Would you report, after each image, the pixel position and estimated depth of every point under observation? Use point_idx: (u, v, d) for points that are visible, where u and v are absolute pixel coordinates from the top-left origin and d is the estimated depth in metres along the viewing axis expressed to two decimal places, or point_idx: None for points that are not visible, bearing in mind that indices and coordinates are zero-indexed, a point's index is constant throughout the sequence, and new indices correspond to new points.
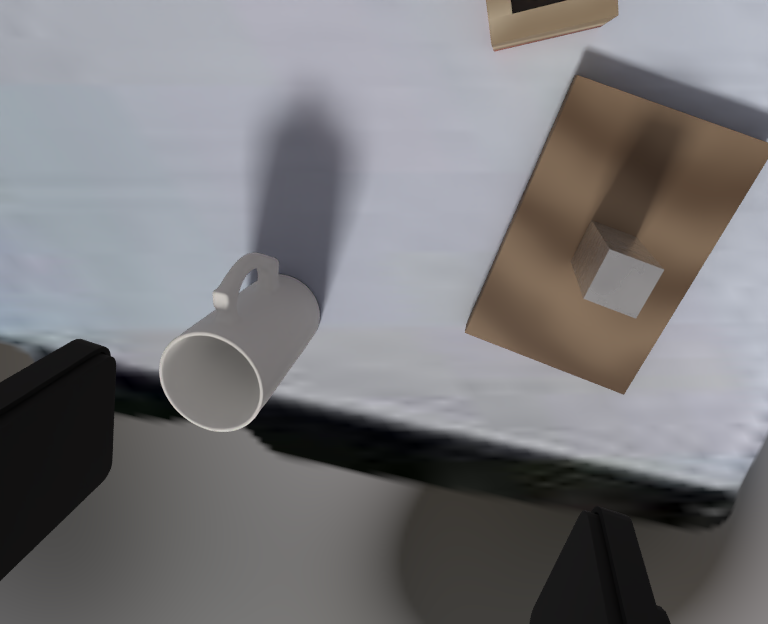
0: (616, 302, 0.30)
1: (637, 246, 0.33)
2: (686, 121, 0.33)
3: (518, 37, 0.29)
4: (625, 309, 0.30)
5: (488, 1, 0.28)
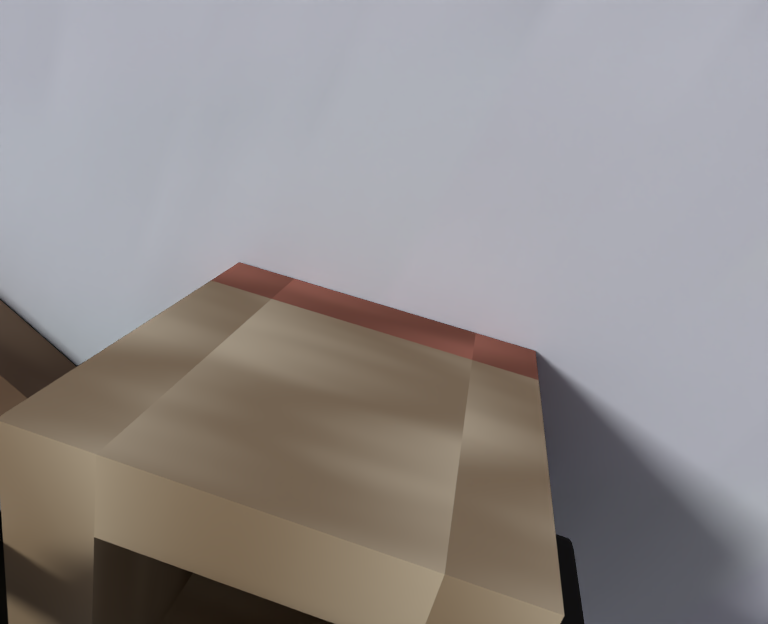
0: None
1: None
2: None
3: (4, 516, 0.07)
4: None
5: (165, 488, 0.06)
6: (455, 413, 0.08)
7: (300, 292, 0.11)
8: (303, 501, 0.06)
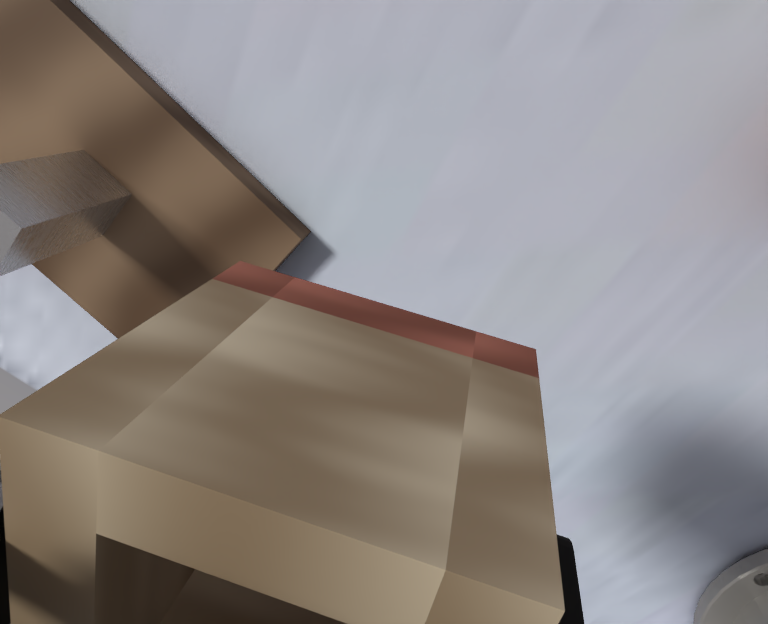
0: None
1: (64, 243, 0.25)
2: None
3: (7, 513, 0.07)
4: None
5: (167, 485, 0.06)
6: (456, 411, 0.08)
7: (301, 290, 0.11)
8: (305, 498, 0.06)
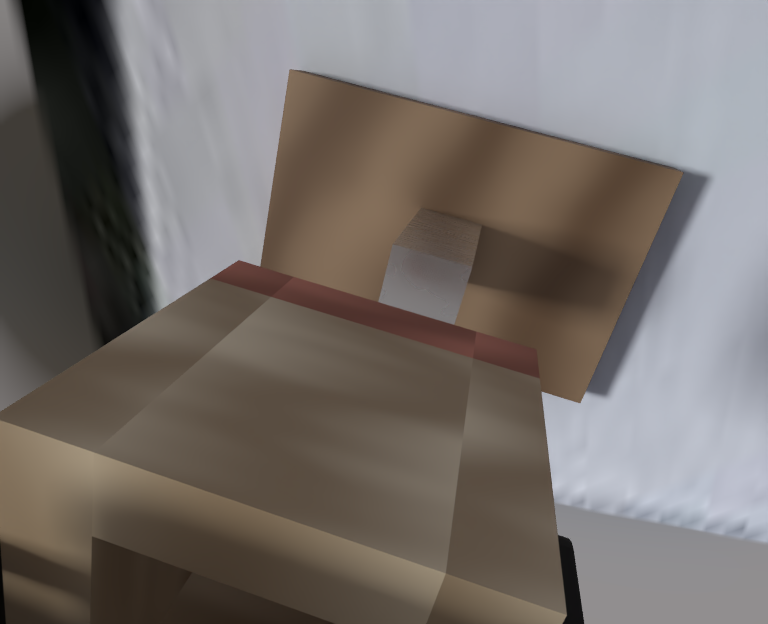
0: (393, 289, 0.21)
1: None
2: (611, 312, 0.27)
3: (1, 515, 0.06)
4: (385, 301, 0.21)
5: (164, 487, 0.06)
6: (456, 411, 0.08)
7: (300, 290, 0.11)
8: (303, 500, 0.06)
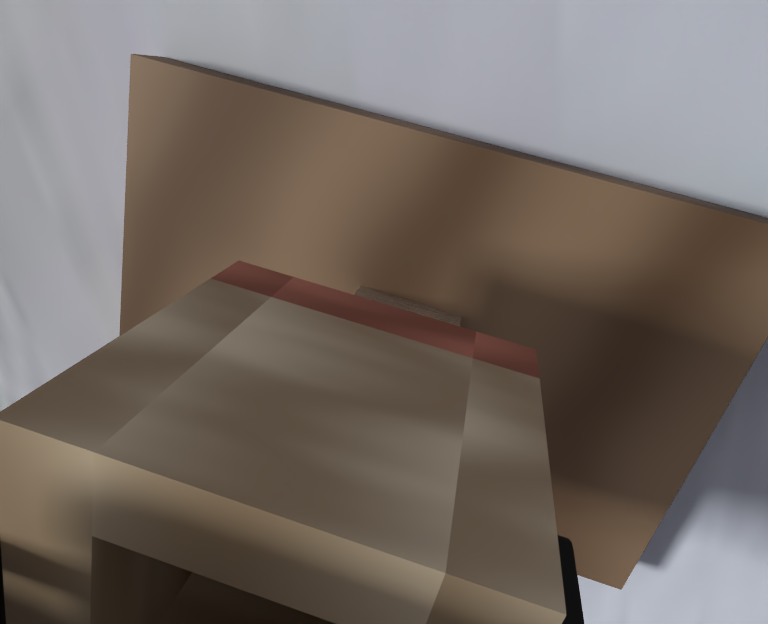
0: None
1: None
2: (679, 461, 0.16)
3: (2, 515, 0.06)
4: None
5: (164, 487, 0.06)
6: (456, 411, 0.08)
7: (300, 290, 0.11)
8: (303, 499, 0.06)
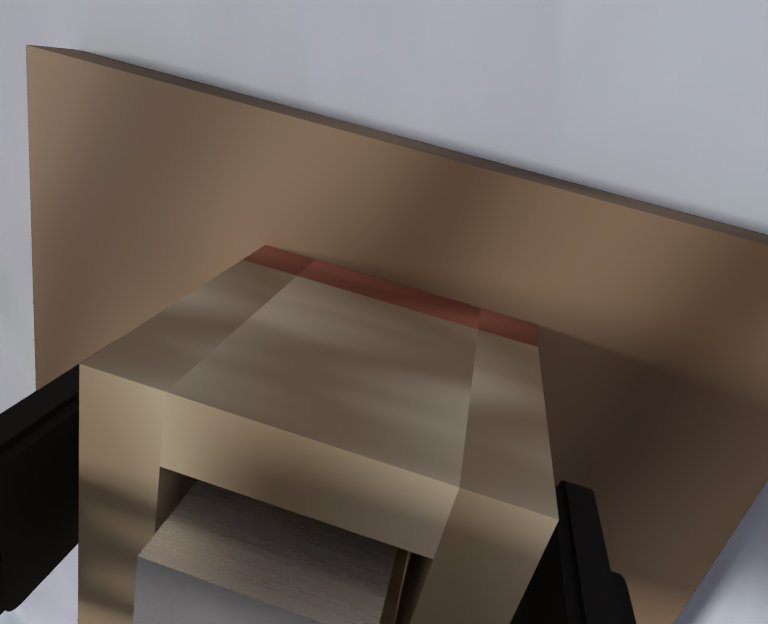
0: None
1: None
2: (706, 542, 0.13)
3: (82, 450, 0.08)
4: None
5: (224, 420, 0.07)
6: (464, 370, 0.09)
7: (322, 271, 0.12)
8: (339, 431, 0.07)
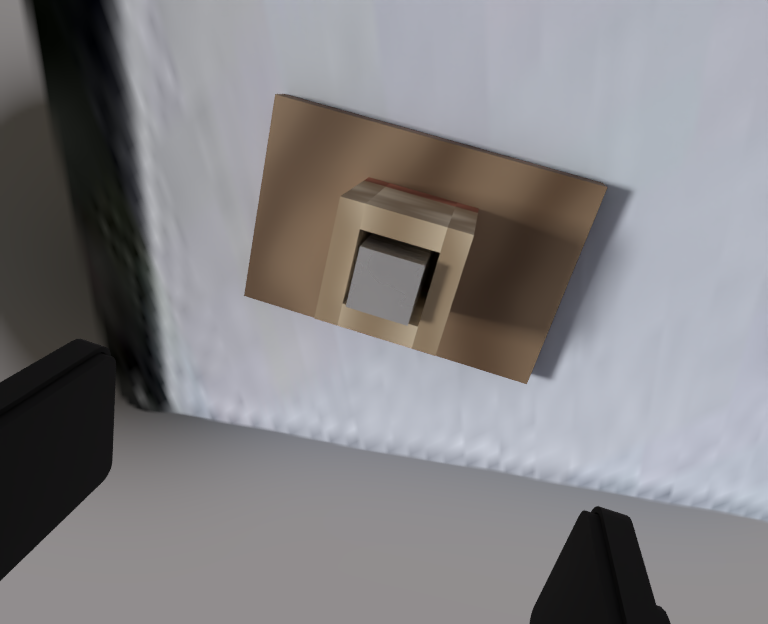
0: (361, 283, 0.25)
1: (421, 286, 0.29)
2: (551, 305, 0.31)
3: (335, 225, 0.26)
4: (354, 294, 0.25)
5: (382, 211, 0.25)
6: (449, 213, 0.27)
7: (394, 186, 0.30)
8: (414, 215, 0.25)
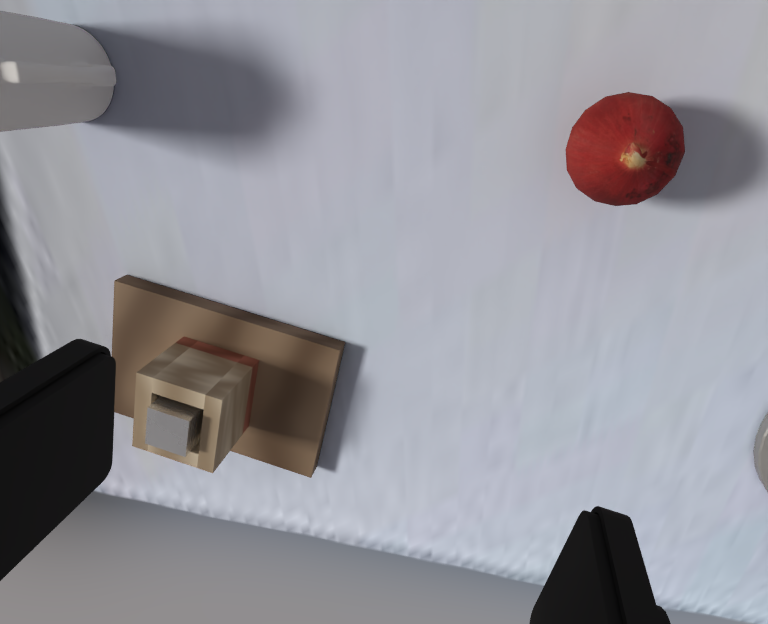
0: (152, 429, 0.38)
1: None
2: (318, 425, 0.43)
3: (136, 389, 0.38)
4: (149, 436, 0.38)
5: (163, 383, 0.37)
6: (223, 373, 0.39)
7: (198, 345, 0.42)
8: (185, 385, 0.37)
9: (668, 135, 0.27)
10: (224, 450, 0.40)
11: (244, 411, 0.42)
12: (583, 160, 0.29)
